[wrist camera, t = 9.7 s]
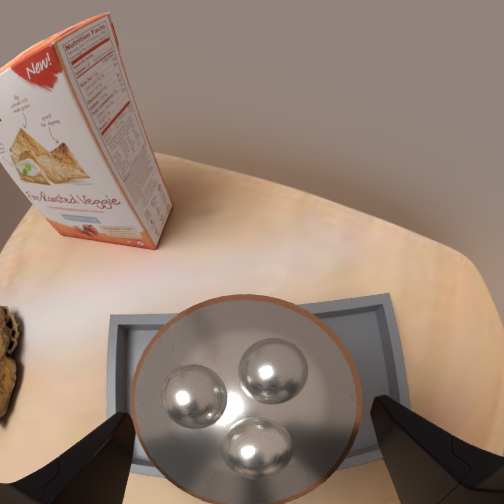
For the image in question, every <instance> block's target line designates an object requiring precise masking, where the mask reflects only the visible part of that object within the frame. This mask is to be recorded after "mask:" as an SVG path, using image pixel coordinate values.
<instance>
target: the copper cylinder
mask: <svg viewBox="0 0 504 504" xmlns="http://www.w3.org/2000/svg"><path fill="white" fill-rule="evenodd" d="M362 406H363V402H362V388H361V383H360V378H359V374H358V371H357V368H356V366H355V363H354V361H353V359H352V357H351V355H350V353H349V351H348V349H347V348H346V346H345V345H344V344H343V342H342V341H341V339H340V338H339V337H338V336H337V335H336V334H335V332H334V331H333V330H332V329H331V328H330V327H329V326H328V325H326V324H325V323H324V322H323V321H322V320H320V319H319V318H318V317H316V316H315V315H313V314H312V313H310V312H309V311H307V310H305V309H303V308H301V307H299V306H297V305H295V304H293V303H290V302H287V301H284V300H281V299H277V298H273V297H268V296H262V295H252V294H246V295H230V296H222V297H218V298H214V299H210V300H207V301H204V302H202V303H199V304H196V305H194V306H192V307H190V308H188V309H186V310H185V311H183V312H181V313H180V314H178V315H177V316H175V317H174V318H172V319H171V320H170V321H169V322H168V323H166V324H165V325H164V326H163V327H162V328H161V329H160V330H159V331H158V332H157V333H156V335H155V336H154V337H153V338H152V339H151V341H150V342H149V344H148V345H147V347H146V348H145V350H144V351H143V353H142V355H141V358H140V360H139V362H138V364H137V367H136V370H135V373H134V376H133V382H132V387H131V413H132V420H133V424H134V428H135V431H136V434H137V437H138V439H139V442H140V444H141V446H142V448H143V449H144V451H145V453H146V455H147V456H148V458H149V459H150V461H151V462H152V463H153V465H154V466H155V467H156V468H157V469H158V470H159V471H160V472H161V474H162V475H163V476H164V477H165V478H166V479H168V480H169V481H170V482H172V483H173V484H174V485H175V486H177V487H178V488H180V489H181V490H183V491H185V492H186V493H188V494H190V495H191V496H194V497H196V498H198V499H201V500H203V501H205V502H209V503H212V504H284V503H286V502H289V501H292V500H294V499H297V498H299V497H301V496H303V495H305V494H307V493H308V492H310V491H312V490H314V489H315V488H316V487H318V486H319V485H320V484H322V483H323V482H325V481H326V480H327V479H328V478H329V477H330V476H331V475H332V474H333V473H334V472H335V471H336V470H337V469H338V467H339V466H340V465H341V463H342V462H343V461H344V460H345V458H346V456H347V455H348V453H349V451H350V450H351V448H352V446H353V444H354V441H355V439H356V436H357V434H358V430H359V426H360V422H361V416H362Z"/></svg>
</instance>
